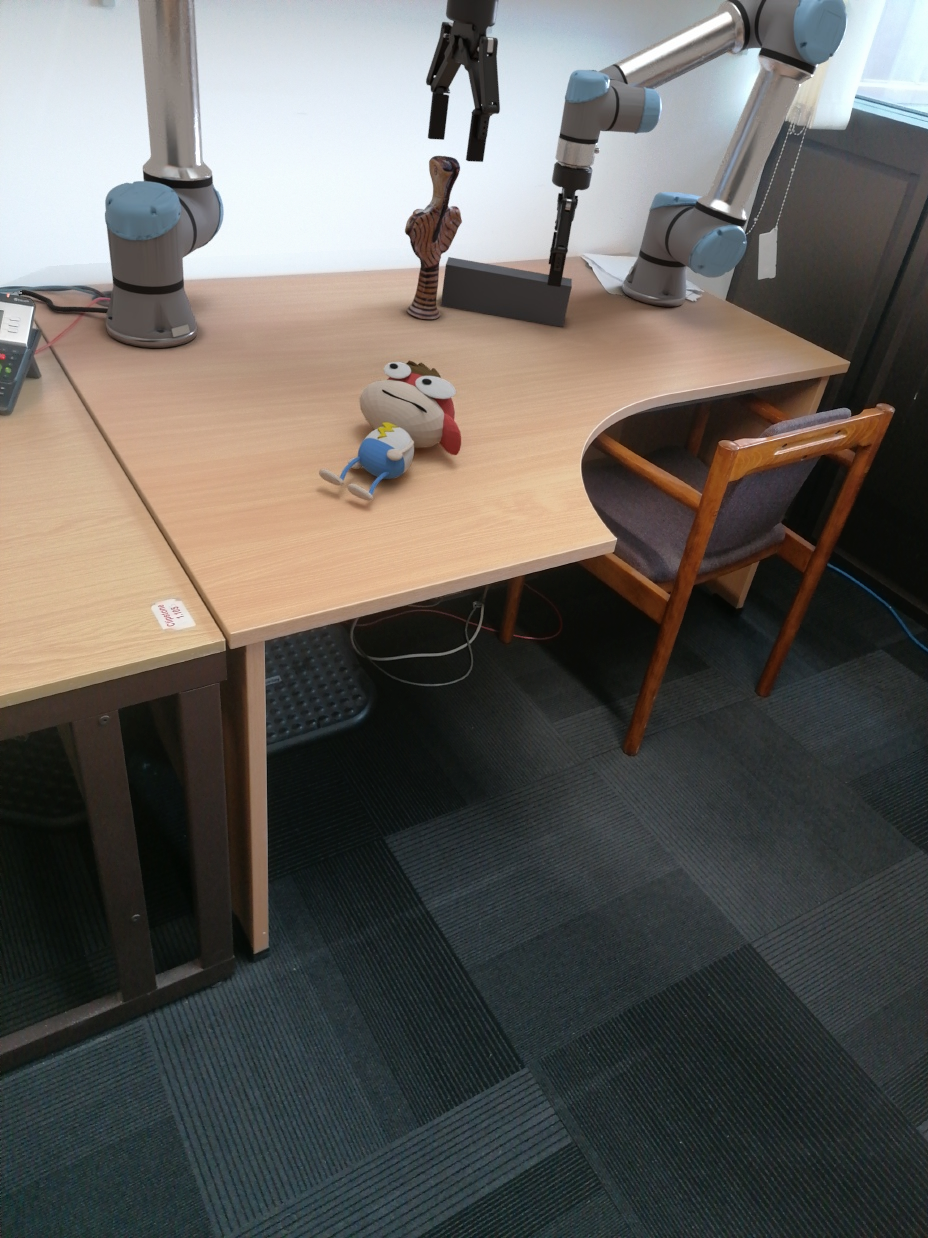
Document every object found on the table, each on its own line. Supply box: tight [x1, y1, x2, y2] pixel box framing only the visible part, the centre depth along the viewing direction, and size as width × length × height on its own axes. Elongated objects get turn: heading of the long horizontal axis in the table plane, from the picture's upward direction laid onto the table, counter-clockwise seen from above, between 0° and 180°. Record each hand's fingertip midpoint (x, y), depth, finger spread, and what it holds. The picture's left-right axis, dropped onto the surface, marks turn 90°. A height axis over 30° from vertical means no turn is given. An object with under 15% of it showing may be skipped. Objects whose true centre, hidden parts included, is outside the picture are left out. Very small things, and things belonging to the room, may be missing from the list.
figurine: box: [404, 155, 463, 320], centre depth 174 cm, size 15×8×30 cm, turn 144°
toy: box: [318, 360, 462, 502], centre depth 133 cm, size 18×10×30 cm
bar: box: [440, 256, 573, 328], centre depth 188 cm, size 26×5×9 cm, turn 85°
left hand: (454, 149), depth 144 cm, fingers open, 13 cm apart
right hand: (554, 274), depth 186 cm, fingers open, 13 cm apart
